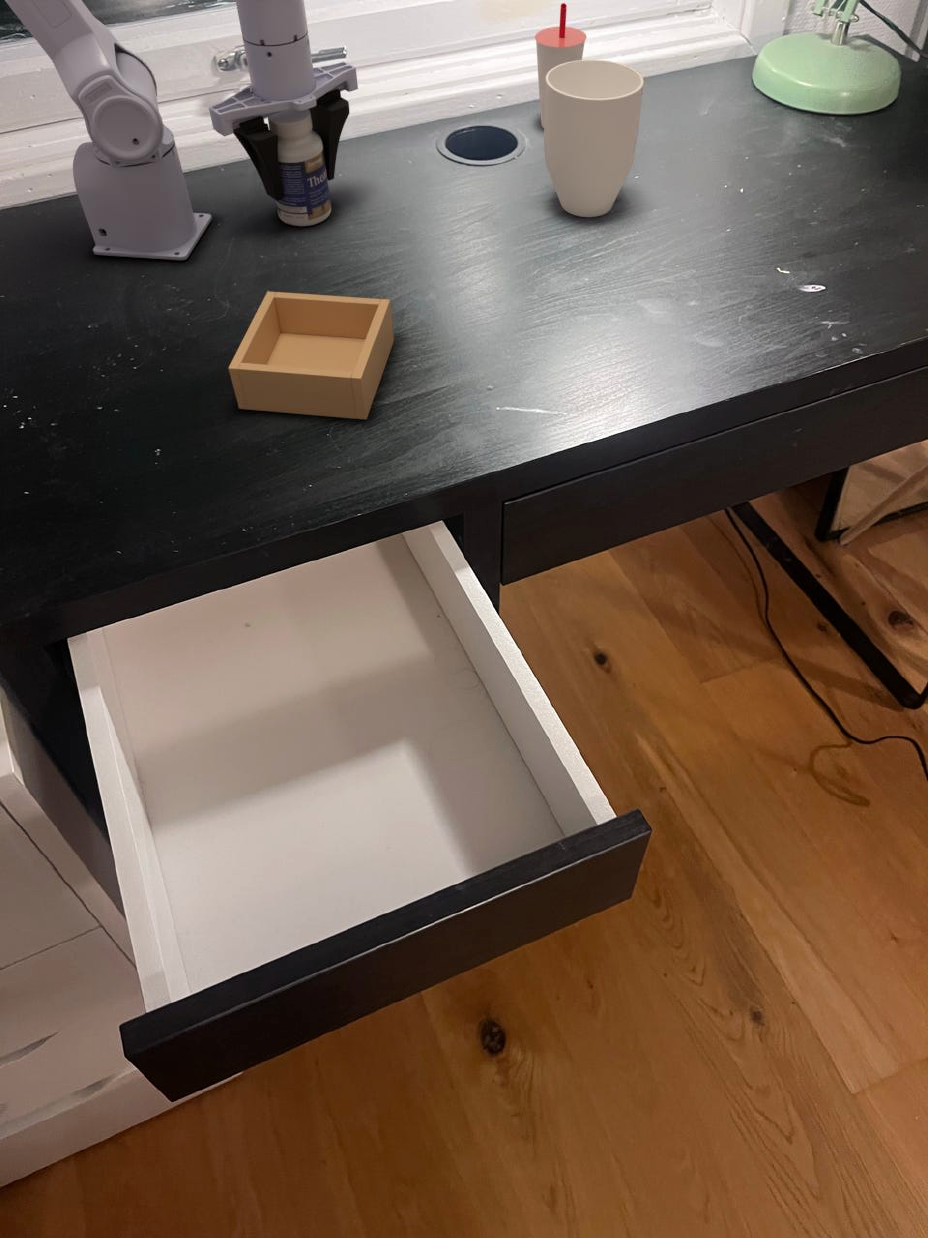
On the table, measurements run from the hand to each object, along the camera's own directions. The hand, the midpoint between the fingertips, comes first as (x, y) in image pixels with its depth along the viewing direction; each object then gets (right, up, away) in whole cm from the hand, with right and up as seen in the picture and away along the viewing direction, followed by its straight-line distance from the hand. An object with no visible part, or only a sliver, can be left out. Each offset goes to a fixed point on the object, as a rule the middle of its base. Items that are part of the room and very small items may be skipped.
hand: (300, 185), depth 94 cm
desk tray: (+4, -22, -14) cm, 26 cm away
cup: (+26, +13, +13) cm, 32 cm away
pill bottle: (0, -2, +2) cm, 3 cm away
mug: (+28, 0, +3) cm, 28 cm away
